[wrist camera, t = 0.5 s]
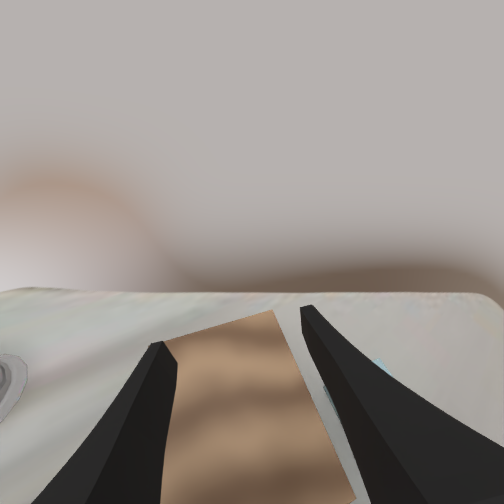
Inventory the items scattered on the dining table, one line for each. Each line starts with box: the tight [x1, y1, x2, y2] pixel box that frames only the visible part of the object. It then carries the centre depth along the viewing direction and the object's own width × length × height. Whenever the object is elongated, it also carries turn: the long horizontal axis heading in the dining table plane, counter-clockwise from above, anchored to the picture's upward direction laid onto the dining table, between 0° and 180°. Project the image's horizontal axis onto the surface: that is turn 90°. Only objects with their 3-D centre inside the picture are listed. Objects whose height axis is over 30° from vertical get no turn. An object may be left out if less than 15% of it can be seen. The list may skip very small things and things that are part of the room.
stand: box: [148, 310, 356, 504], centre depth 22 cm, size 18×16×4 cm
